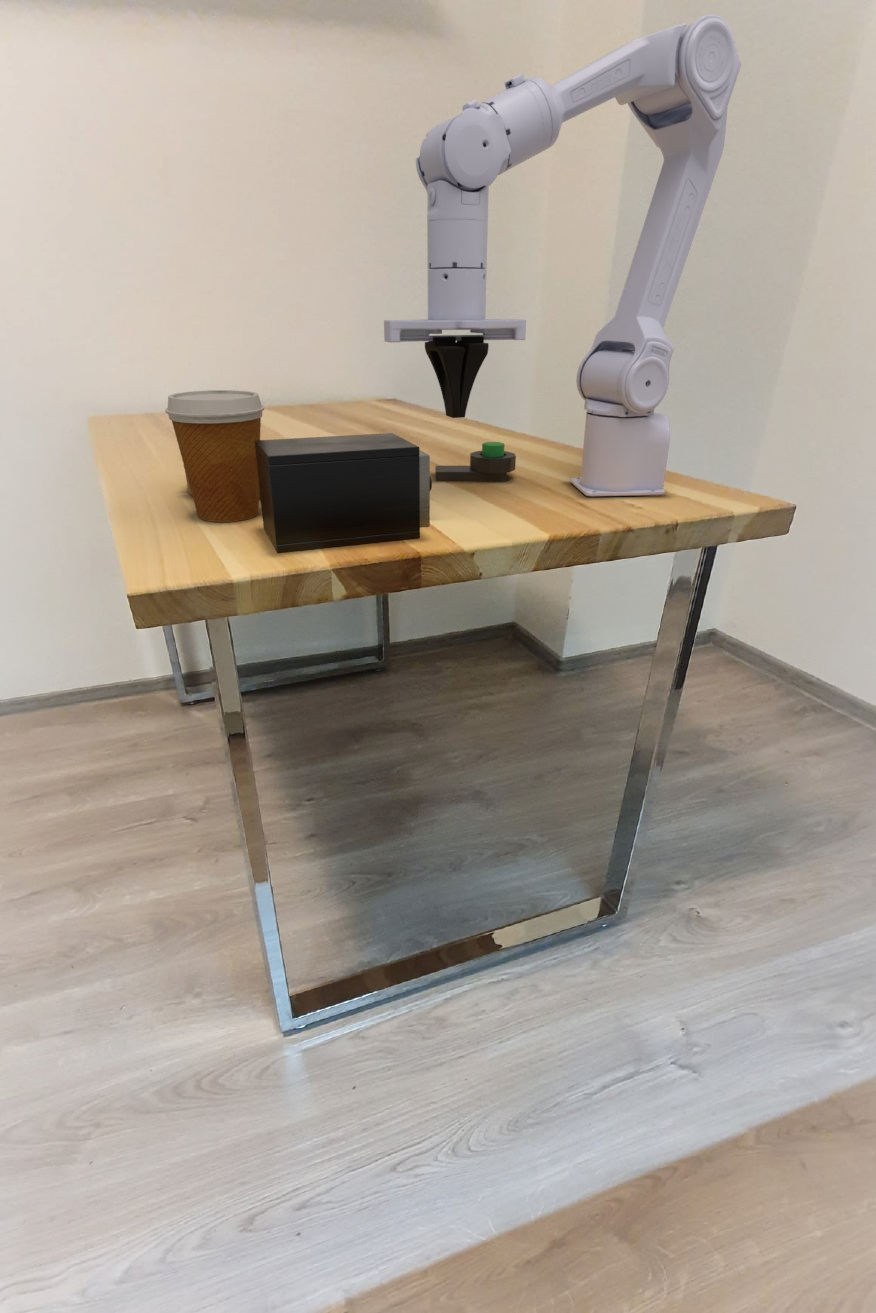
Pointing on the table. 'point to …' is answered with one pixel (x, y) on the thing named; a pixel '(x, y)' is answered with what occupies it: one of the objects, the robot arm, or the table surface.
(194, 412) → the disposable coffee cup
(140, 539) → the table surface
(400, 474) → the cabinet
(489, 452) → the button
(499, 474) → the control block
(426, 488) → the drawer
